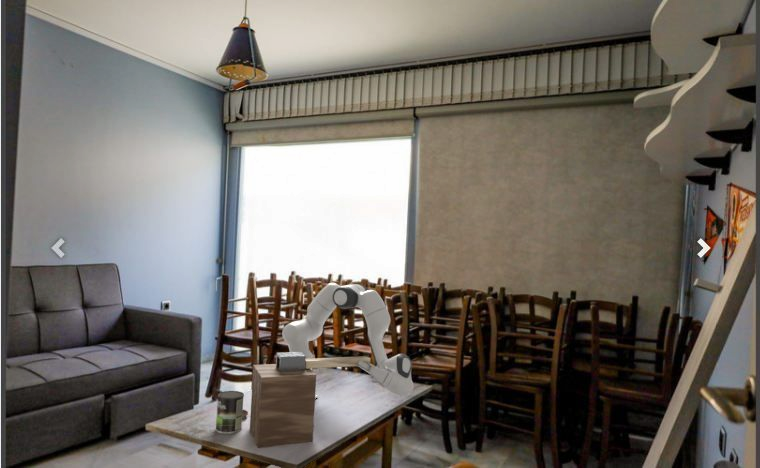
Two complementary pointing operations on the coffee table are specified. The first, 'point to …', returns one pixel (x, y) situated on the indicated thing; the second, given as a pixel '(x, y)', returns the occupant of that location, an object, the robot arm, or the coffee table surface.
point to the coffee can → (229, 412)
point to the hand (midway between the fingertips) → (356, 360)
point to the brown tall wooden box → (282, 406)
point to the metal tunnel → (290, 361)
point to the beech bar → (335, 362)
